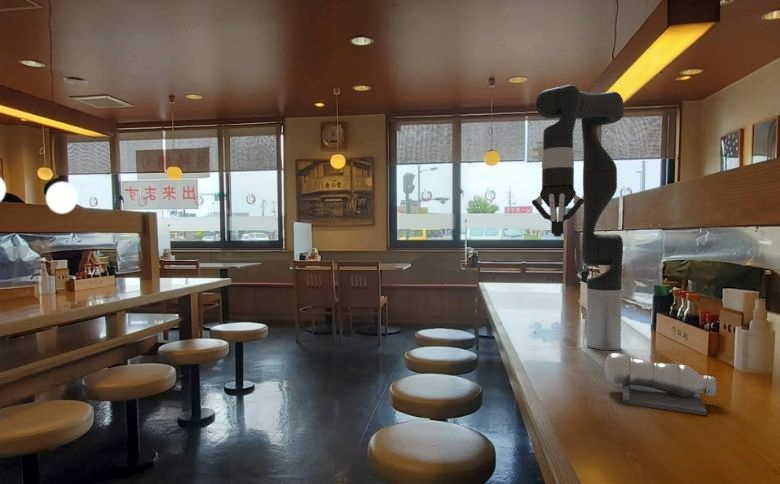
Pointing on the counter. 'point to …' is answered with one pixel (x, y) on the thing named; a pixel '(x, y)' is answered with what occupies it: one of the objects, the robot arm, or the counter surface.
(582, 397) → the counter surface
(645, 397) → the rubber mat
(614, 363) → the silver aluminum bottle
